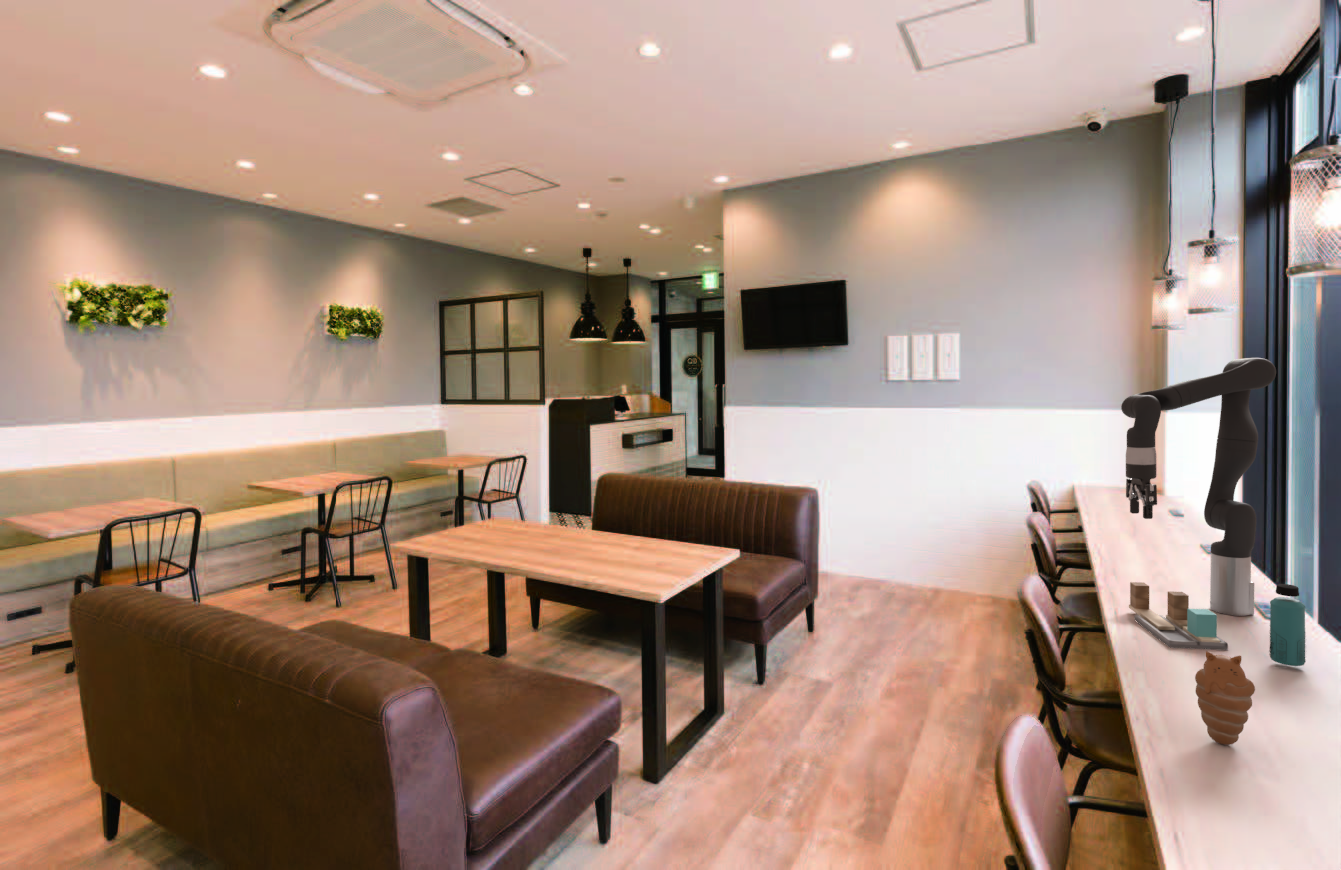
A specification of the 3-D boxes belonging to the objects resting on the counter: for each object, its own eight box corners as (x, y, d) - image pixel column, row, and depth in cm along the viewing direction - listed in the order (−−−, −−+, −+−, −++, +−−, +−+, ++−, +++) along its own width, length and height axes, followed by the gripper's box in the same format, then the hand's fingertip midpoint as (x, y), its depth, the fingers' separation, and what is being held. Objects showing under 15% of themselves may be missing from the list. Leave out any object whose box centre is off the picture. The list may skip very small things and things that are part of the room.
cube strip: (1143, 608, 201) (1144, 582, 201) (1174, 630, 183) (1175, 601, 183) (1128, 607, 202) (1128, 581, 202) (1158, 629, 184) (1158, 601, 184)
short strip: (1181, 618, 191) (1182, 591, 191) (1196, 628, 184) (1196, 600, 183) (1165, 618, 192) (1165, 590, 192) (1179, 627, 185) (1179, 599, 184)
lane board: (1185, 622, 192) (1185, 614, 192) (1227, 650, 172) (1227, 641, 172) (1134, 620, 195) (1134, 612, 195) (1169, 647, 175) (1169, 639, 175)
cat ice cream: (1197, 748, 128) (1197, 656, 127) (1191, 729, 135) (1191, 642, 133) (1257, 759, 123) (1258, 664, 122) (1248, 739, 130) (1249, 649, 129)
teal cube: (1207, 631, 179) (1207, 609, 179) (1216, 637, 174) (1216, 614, 174) (1187, 630, 180) (1187, 608, 180) (1196, 636, 176) (1196, 614, 175)
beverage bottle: (1312, 673, 157) (1314, 589, 156) (1280, 672, 158) (1281, 589, 157) (1293, 662, 163) (1294, 581, 162) (1261, 661, 165) (1262, 581, 163)
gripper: (1167, 464, 191) (1167, 520, 192) (1144, 459, 205) (1144, 511, 206) (1137, 465, 193) (1137, 520, 194) (1116, 459, 207) (1116, 511, 208)
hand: (1141, 515), depth 200 cm, fingers open, 8 cm apart
